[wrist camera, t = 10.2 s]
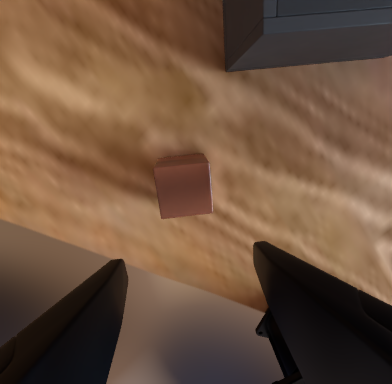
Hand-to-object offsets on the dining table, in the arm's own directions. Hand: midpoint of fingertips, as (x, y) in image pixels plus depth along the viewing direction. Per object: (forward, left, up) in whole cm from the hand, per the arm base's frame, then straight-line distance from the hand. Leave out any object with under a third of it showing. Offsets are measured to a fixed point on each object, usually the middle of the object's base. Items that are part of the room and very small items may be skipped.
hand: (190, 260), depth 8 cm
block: (0, 0, -12) cm, 12 cm away
